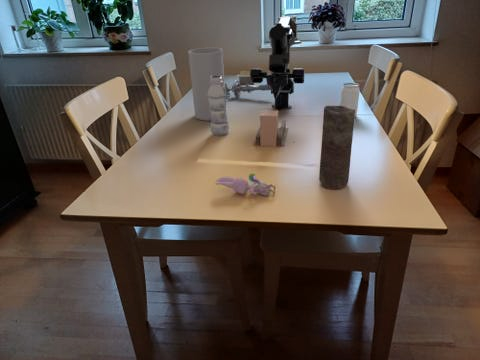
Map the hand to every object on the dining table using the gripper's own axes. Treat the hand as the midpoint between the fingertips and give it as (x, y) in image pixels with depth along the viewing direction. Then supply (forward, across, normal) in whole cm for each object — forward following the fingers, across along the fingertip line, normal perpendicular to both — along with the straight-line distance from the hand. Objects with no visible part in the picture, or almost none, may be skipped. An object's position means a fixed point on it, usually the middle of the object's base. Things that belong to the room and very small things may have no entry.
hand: (275, 97), depth 122 cm
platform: (-35, -22, +53) cm, 67 cm away
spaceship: (-18, -22, +34) cm, 44 cm away
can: (-2, +26, +18) cm, 32 cm away
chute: (+15, 0, 0) cm, 15 cm away
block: (+18, 0, -4) cm, 19 cm away
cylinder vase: (+1, -27, +15) cm, 31 cm away
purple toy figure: (+40, -2, -25) cm, 47 cm away
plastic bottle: (+14, -18, +2) cm, 23 cm away
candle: (+34, +19, -19) cm, 44 cm away
